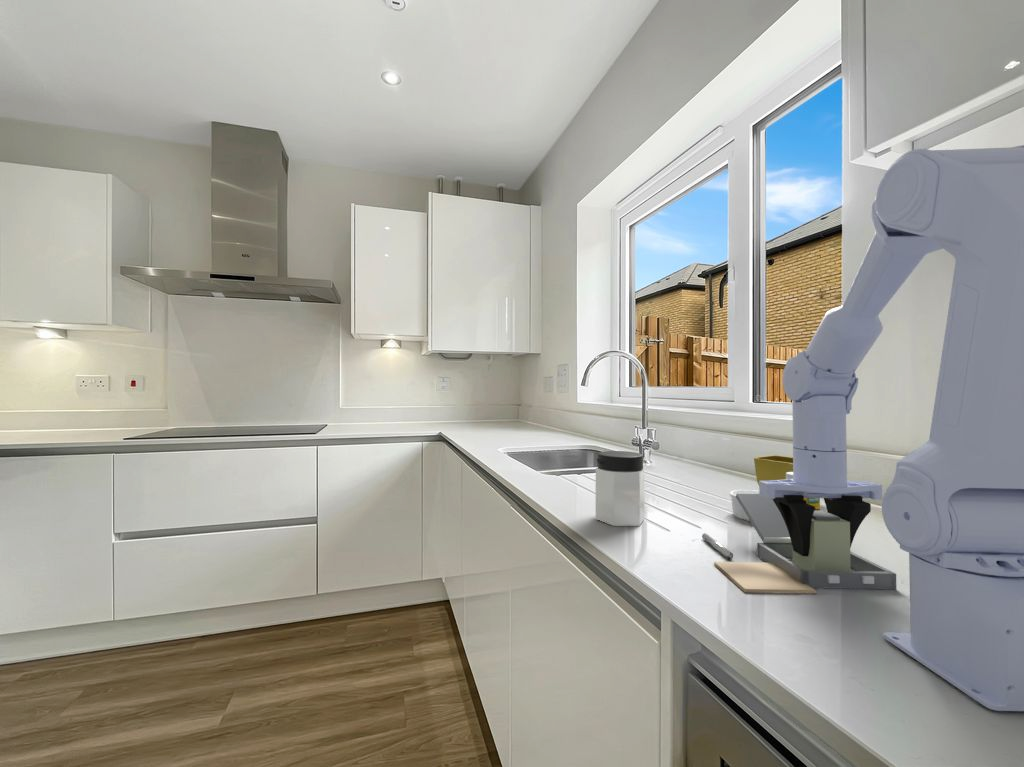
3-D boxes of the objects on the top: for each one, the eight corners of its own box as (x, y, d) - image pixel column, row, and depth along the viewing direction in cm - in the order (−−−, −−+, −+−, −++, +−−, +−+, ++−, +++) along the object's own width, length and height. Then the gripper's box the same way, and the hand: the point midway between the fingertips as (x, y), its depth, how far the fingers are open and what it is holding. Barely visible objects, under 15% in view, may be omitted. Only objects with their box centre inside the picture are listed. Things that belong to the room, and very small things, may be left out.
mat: (815, 593, 49) (815, 590, 49) (745, 592, 50) (745, 589, 50) (774, 565, 57) (774, 562, 57) (714, 564, 57) (714, 561, 57)
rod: (733, 559, 59) (733, 552, 59) (726, 559, 59) (726, 552, 59) (708, 539, 67) (708, 533, 67) (702, 539, 67) (701, 533, 67)
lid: (830, 557, 60) (829, 507, 60) (765, 556, 60) (764, 506, 61) (792, 537, 69) (792, 493, 69) (735, 536, 69) (735, 493, 69)
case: (898, 590, 50) (898, 574, 50) (805, 588, 50) (804, 573, 51) (834, 556, 61) (834, 543, 61) (757, 555, 61) (757, 542, 61)
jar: (604, 511, 84) (604, 449, 84) (647, 516, 80) (647, 452, 80) (590, 523, 76) (590, 455, 76) (637, 530, 72) (637, 458, 72)
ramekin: (726, 519, 79) (726, 495, 79) (734, 508, 86) (733, 487, 86) (783, 528, 74) (782, 502, 74) (786, 516, 81) (785, 493, 81)
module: (850, 578, 53) (849, 518, 54) (814, 577, 54) (814, 518, 54) (825, 564, 58) (825, 509, 58) (792, 563, 58) (792, 508, 58)
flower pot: (817, 502, 91) (817, 460, 91) (795, 507, 87) (795, 463, 87) (775, 493, 99) (774, 454, 99) (752, 498, 94) (752, 457, 94)
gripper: (852, 445, 60) (853, 543, 60) (746, 444, 60) (747, 542, 60) (895, 452, 53) (897, 563, 52) (776, 451, 53) (777, 562, 53)
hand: (820, 553), depth 56 cm, fingers closed on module, 4 cm apart
